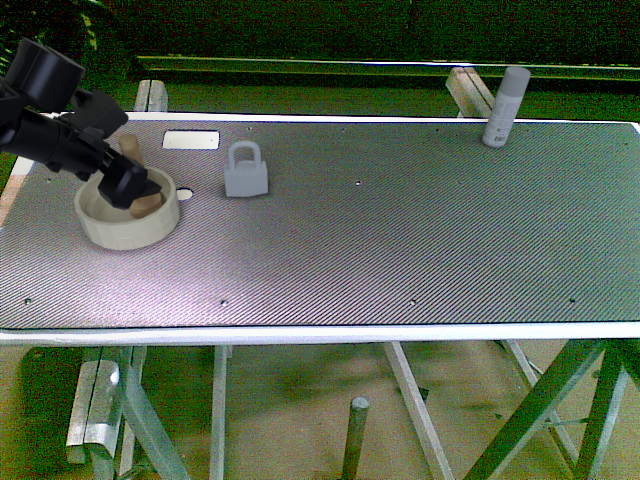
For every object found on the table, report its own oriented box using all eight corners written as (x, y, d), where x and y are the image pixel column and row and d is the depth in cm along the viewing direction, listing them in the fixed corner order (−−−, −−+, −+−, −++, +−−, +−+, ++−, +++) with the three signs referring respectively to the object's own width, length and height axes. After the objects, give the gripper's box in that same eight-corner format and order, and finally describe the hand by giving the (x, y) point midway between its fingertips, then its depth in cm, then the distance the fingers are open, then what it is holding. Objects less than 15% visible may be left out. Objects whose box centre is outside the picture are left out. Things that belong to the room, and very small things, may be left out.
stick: (132, 223, 74) (110, 151, 65) (127, 203, 77) (106, 131, 68) (166, 216, 76) (149, 144, 66) (160, 196, 79) (143, 125, 70)
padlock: (265, 181, 84) (263, 132, 77) (268, 195, 82) (267, 146, 75) (225, 184, 83) (219, 135, 76) (226, 199, 80) (221, 149, 73)
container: (507, 139, 99) (534, 70, 88) (501, 150, 96) (528, 79, 85) (485, 132, 100) (509, 63, 90) (478, 142, 97) (502, 72, 87)
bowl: (93, 264, 69) (82, 237, 65) (79, 204, 77) (68, 177, 73) (191, 236, 74) (186, 209, 70) (167, 183, 82) (162, 157, 79)
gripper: (115, 112, 53) (206, 156, 67) (40, 57, 62) (135, 105, 76) (69, 197, 55) (168, 223, 68) (2, 131, 63) (102, 165, 77)
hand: (143, 175), depth 72 cm, fingers open, 9 cm apart
